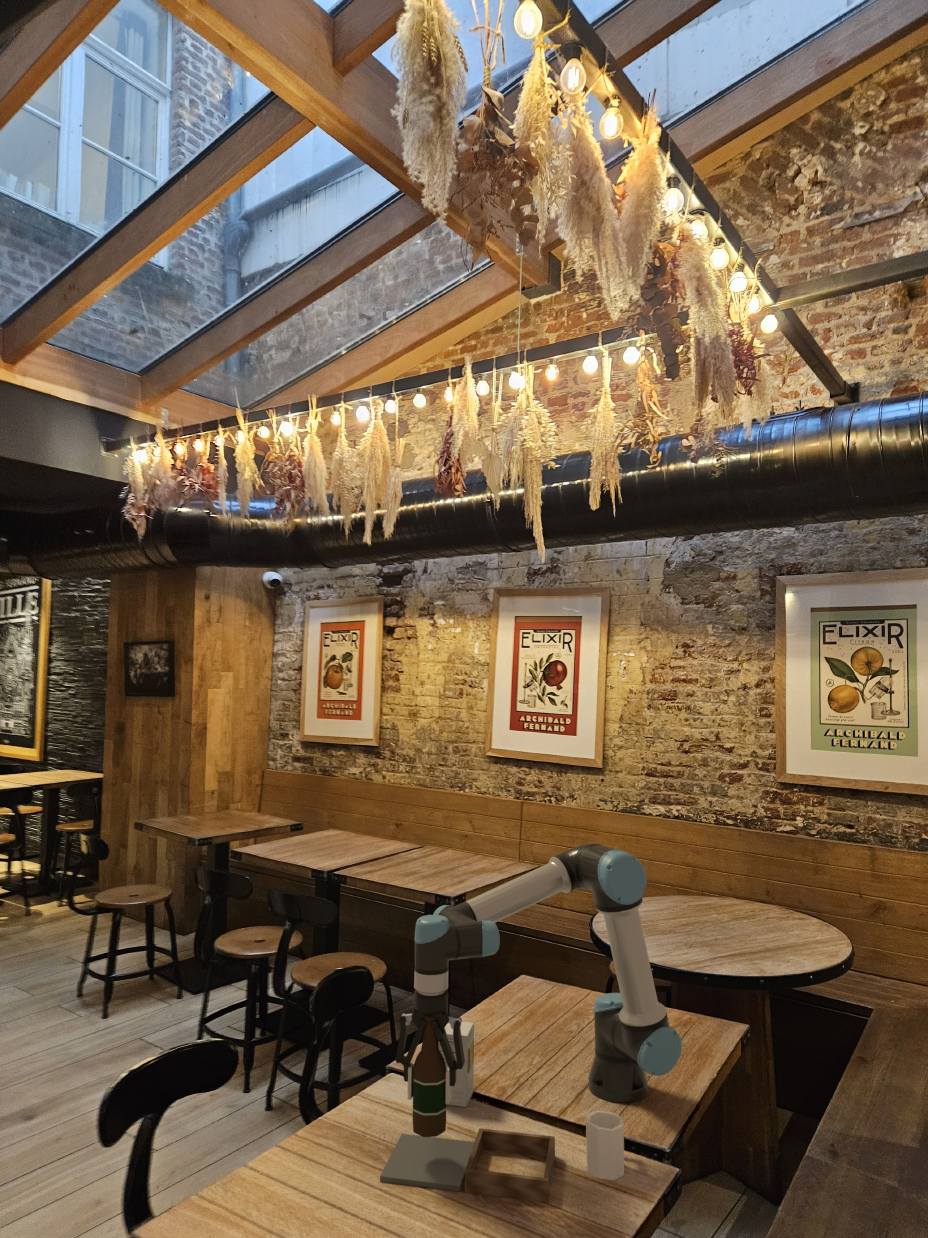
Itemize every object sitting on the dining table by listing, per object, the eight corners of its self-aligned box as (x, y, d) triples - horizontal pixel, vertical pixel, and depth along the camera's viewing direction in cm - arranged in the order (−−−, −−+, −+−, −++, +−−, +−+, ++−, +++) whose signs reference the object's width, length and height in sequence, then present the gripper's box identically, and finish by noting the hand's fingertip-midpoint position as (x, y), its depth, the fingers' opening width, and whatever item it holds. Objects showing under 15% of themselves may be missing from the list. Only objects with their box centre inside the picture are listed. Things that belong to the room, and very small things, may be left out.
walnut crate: (554, 1156, 177) (554, 1136, 178) (548, 1202, 161) (548, 1181, 161) (479, 1147, 181) (479, 1128, 181) (464, 1192, 164) (464, 1171, 164)
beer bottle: (420, 1142, 169) (422, 1022, 172) (405, 1124, 176) (407, 1010, 179) (453, 1133, 173) (454, 1016, 176) (437, 1116, 180) (439, 1004, 182)
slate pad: (474, 1146, 181) (474, 1142, 181) (459, 1191, 164) (459, 1186, 164) (401, 1138, 184) (401, 1133, 184) (379, 1181, 167) (380, 1176, 167)
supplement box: (467, 1108, 198) (467, 1036, 200) (430, 1104, 200) (431, 1033, 202) (474, 1090, 207) (474, 1021, 209) (439, 1086, 209) (440, 1018, 211)
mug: (617, 1185, 167) (616, 1134, 168) (578, 1171, 171) (578, 1123, 172) (637, 1157, 177) (636, 1110, 178) (600, 1146, 182) (600, 1100, 183)
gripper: (479, 987, 179) (479, 1095, 177) (391, 980, 183) (389, 1086, 181) (473, 999, 172) (472, 1112, 170) (381, 992, 176) (379, 1102, 174)
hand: (429, 1098), depth 175 cm, fingers closed on beer bottle, 8 cm apart
